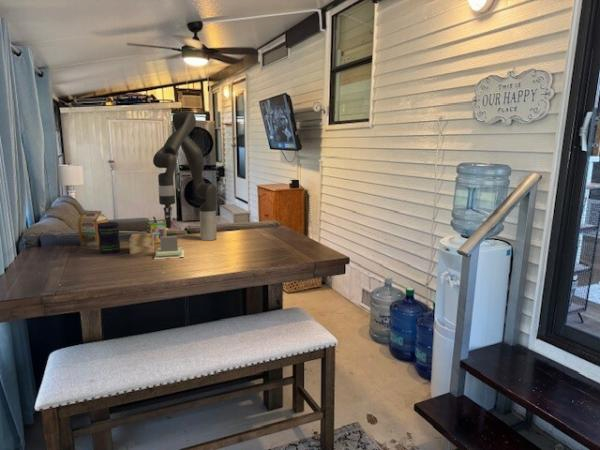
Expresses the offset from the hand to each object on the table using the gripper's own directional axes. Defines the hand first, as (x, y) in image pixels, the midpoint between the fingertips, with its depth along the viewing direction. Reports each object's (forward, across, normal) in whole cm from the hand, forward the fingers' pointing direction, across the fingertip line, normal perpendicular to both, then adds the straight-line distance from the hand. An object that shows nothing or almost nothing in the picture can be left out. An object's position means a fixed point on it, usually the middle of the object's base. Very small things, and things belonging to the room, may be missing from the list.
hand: (168, 226), depth 201 cm
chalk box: (+15, +32, +8) cm, 36 cm away
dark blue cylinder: (+15, +13, +30) cm, 36 cm away
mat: (+15, 0, 0) cm, 15 cm away
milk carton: (+15, +33, +41) cm, 55 cm away
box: (+15, +12, +14) cm, 24 cm away
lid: (+13, 0, 0) cm, 13 cm away
